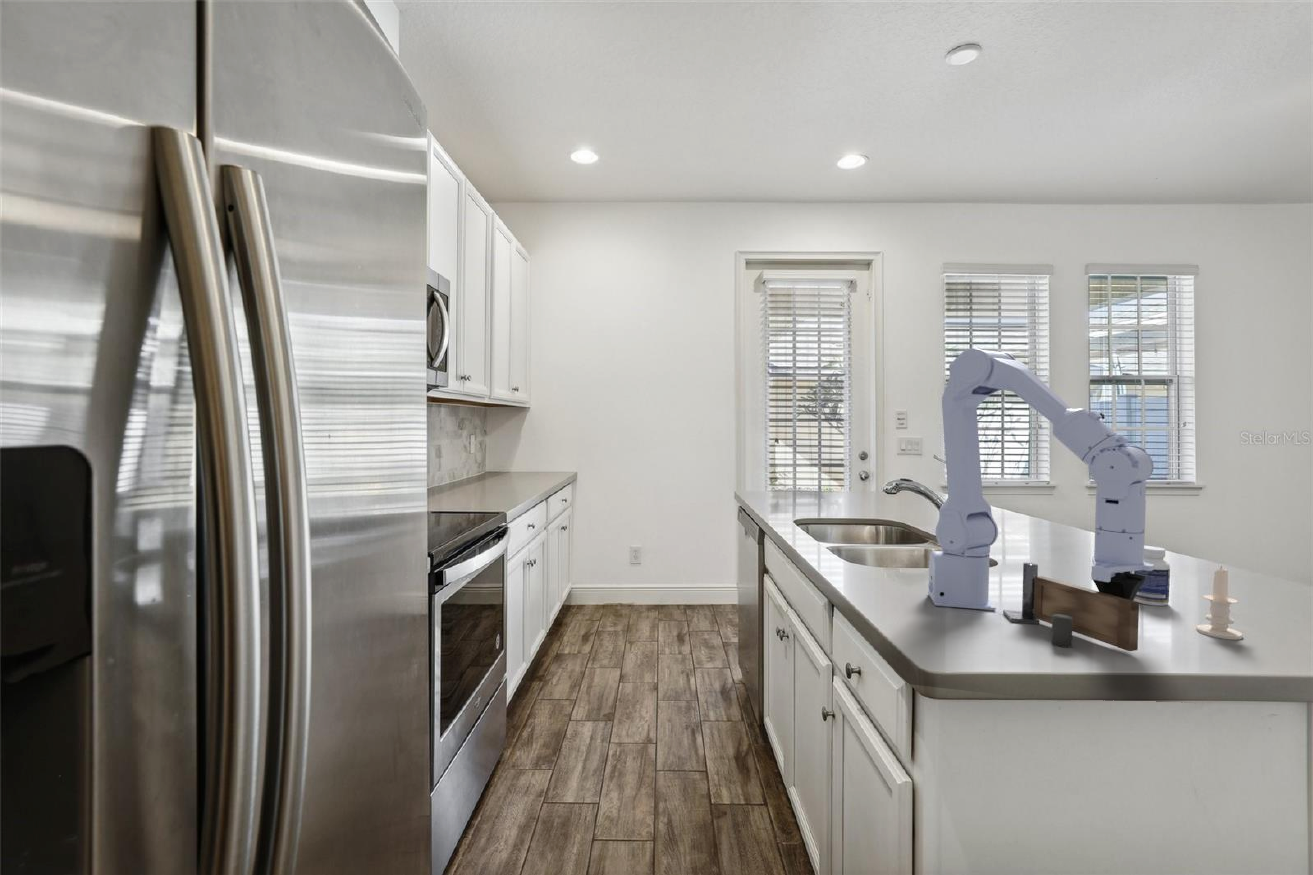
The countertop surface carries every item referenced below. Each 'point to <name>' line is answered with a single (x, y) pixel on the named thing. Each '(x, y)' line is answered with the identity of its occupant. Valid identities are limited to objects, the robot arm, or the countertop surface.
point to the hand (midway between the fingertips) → (1116, 623)
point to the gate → (1089, 612)
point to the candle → (1220, 610)
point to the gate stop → (1062, 630)
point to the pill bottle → (1154, 578)
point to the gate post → (1026, 597)
